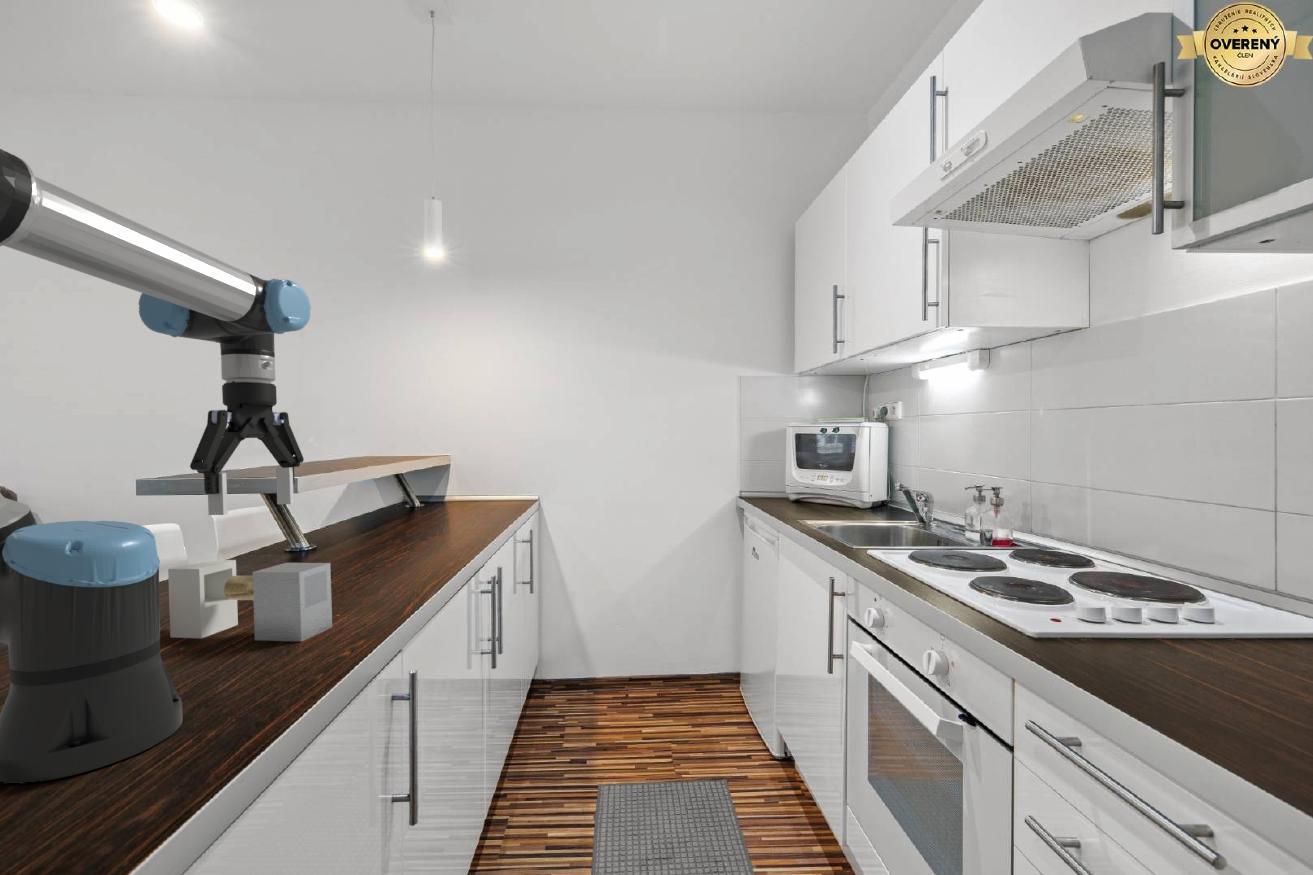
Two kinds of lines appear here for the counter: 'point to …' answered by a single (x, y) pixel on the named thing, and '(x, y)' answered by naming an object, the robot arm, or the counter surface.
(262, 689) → the counter surface
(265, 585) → the grey block
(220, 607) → the socket
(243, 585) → the mottled khaki block
